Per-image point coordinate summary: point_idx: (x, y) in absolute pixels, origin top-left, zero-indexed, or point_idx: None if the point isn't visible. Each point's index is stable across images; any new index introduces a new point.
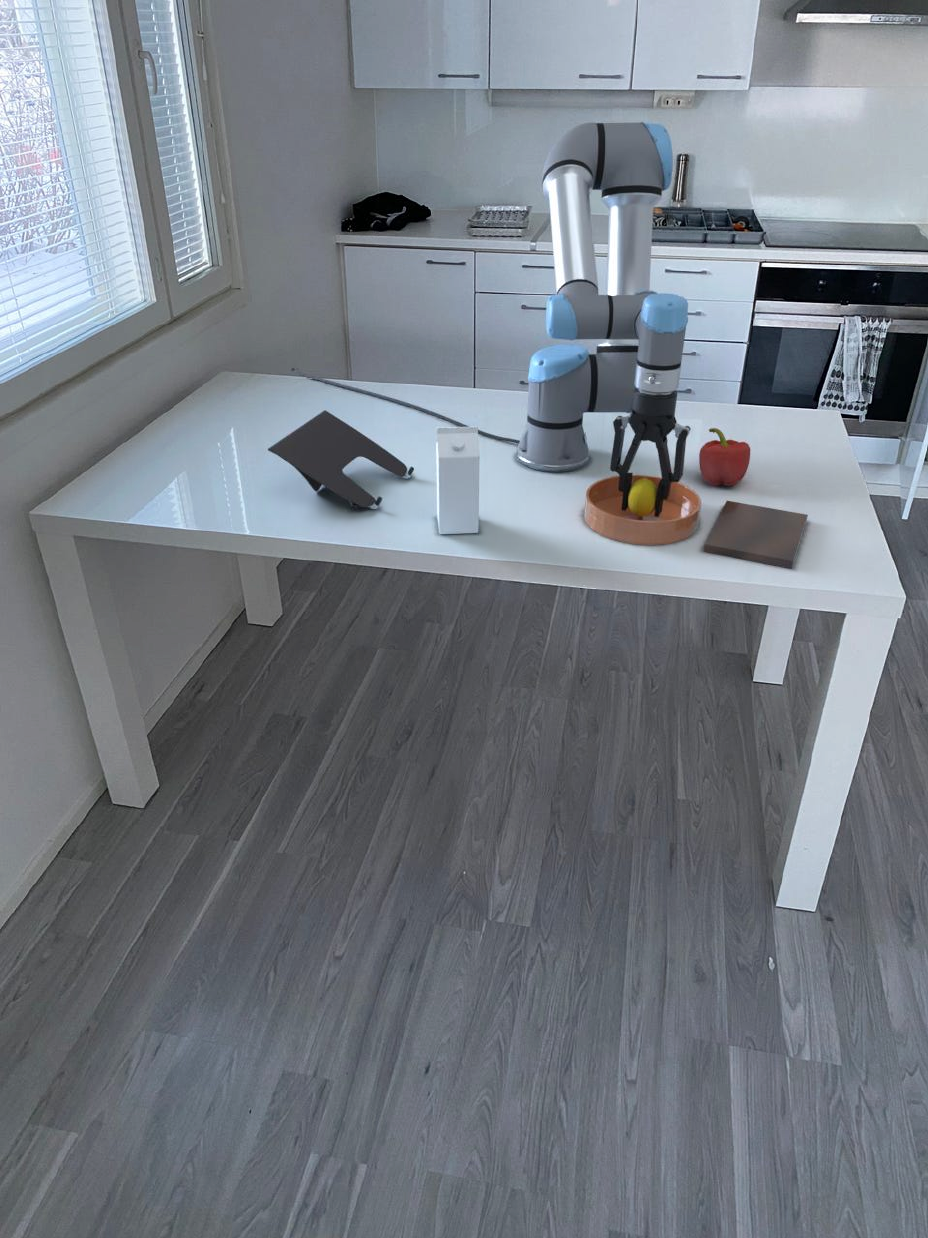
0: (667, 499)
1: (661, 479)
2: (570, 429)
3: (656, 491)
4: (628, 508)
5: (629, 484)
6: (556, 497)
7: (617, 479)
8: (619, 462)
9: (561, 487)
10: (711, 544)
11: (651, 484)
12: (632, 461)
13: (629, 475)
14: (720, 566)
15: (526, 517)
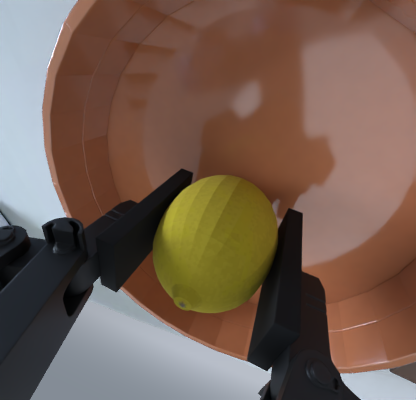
0: (381, 8)
1: (268, 333)
2: None
3: (256, 290)
4: (201, 135)
5: (141, 247)
6: (23, 80)
7: (94, 22)
8: (1, 267)
9: None
10: (410, 379)
11: (222, 309)
12: (43, 317)
13: (109, 269)
14: (400, 393)
15: (37, 192)
